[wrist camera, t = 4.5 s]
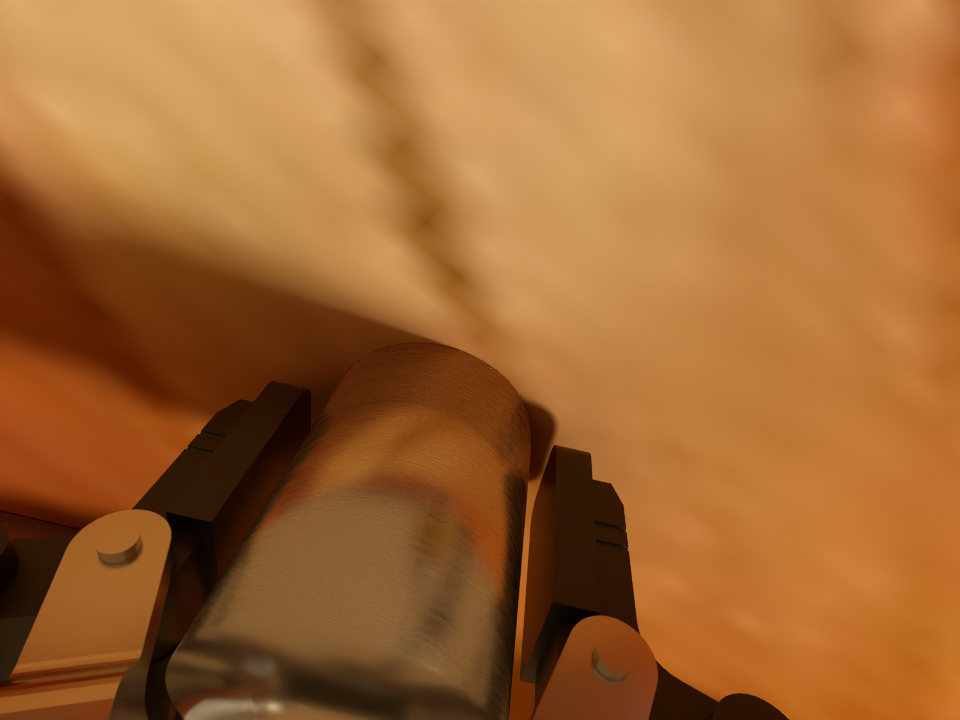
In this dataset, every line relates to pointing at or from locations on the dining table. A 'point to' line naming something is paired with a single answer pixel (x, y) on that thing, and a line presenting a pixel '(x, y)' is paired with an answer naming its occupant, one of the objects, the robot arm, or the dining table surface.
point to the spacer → (377, 558)
